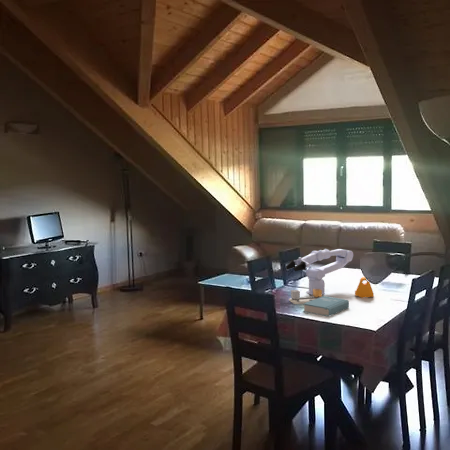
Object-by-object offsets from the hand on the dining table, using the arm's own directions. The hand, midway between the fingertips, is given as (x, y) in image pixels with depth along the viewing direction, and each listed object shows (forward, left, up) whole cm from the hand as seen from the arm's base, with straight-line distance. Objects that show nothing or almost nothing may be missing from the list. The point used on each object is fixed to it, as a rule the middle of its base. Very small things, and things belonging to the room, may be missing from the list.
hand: (290, 268), depth 335 cm
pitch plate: (-8, +11, -18) cm, 23 cm away
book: (-10, +31, -19) cm, 38 cm away
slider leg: (-14, +10, -16) cm, 24 cm away
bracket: (-46, +7, -18) cm, 50 cm away
